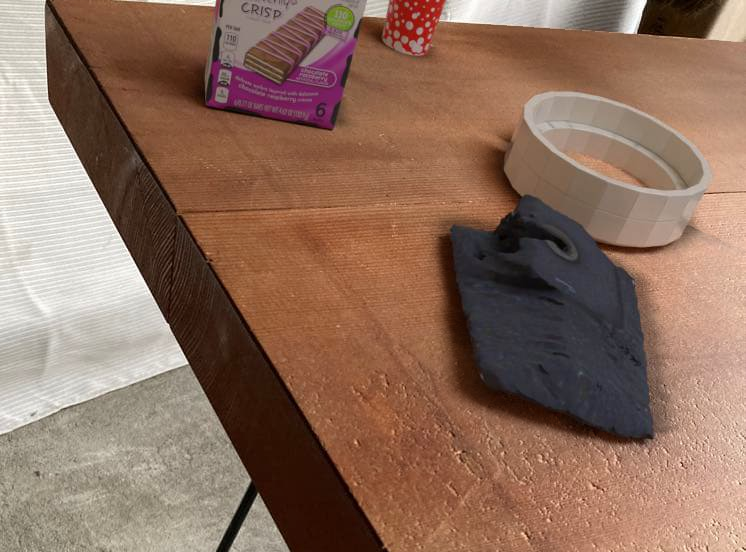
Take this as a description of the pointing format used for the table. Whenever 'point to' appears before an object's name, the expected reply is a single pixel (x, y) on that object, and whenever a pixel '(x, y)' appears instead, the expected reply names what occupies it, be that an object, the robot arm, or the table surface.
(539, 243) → the dark slate chunk
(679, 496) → the table surface
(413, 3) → the beverage cup
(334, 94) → the candy bar box
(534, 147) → the wide hollow ring
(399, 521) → the table surface
